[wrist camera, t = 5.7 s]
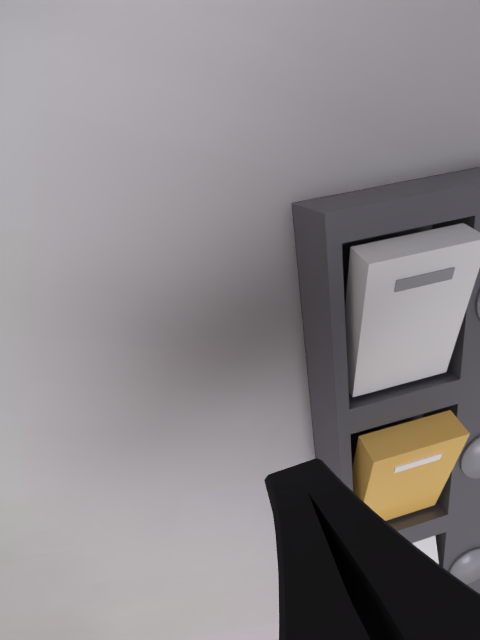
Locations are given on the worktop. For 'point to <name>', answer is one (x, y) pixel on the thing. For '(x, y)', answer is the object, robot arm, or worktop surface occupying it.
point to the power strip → (409, 398)
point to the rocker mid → (407, 464)
